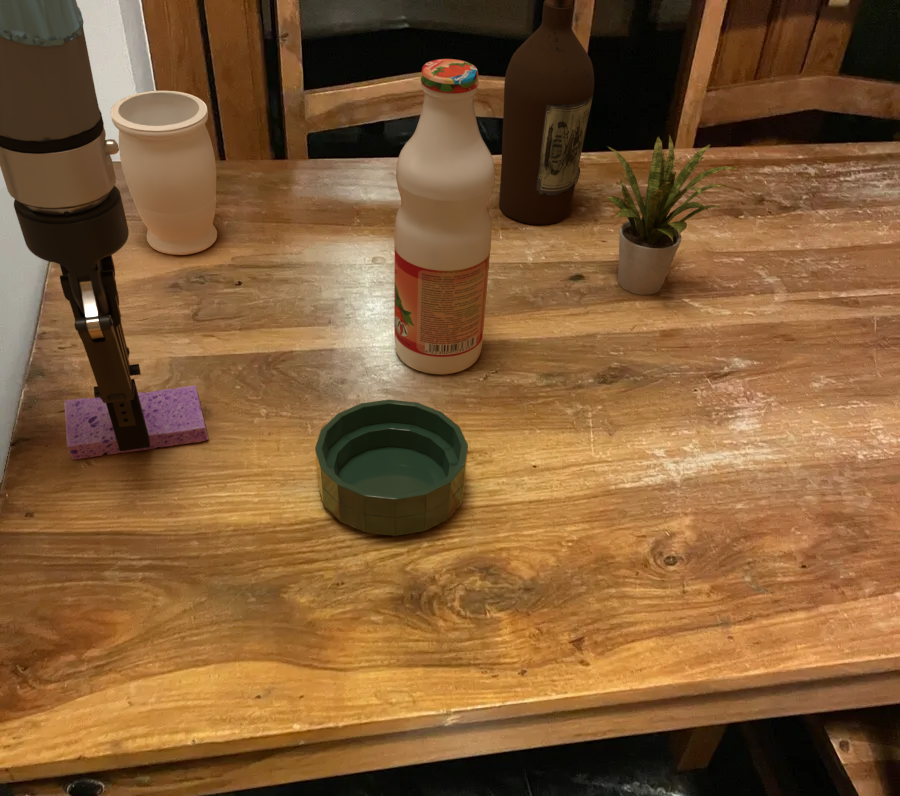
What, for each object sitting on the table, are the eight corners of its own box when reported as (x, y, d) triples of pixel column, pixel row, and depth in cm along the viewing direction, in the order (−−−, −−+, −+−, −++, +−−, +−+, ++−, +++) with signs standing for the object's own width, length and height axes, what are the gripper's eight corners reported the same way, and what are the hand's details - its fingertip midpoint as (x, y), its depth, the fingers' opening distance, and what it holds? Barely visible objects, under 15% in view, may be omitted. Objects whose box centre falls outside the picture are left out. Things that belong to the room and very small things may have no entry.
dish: (336, 551, 80) (333, 509, 76) (307, 453, 88) (303, 411, 85) (481, 526, 83) (486, 484, 79) (441, 433, 91) (443, 391, 87)
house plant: (732, 307, 108) (776, 166, 96) (631, 331, 104) (662, 187, 92) (665, 248, 117) (698, 111, 104) (569, 267, 113) (591, 127, 100)
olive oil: (478, 201, 123) (493, -19, 104) (539, 181, 127) (565, -32, 108) (529, 236, 117) (555, 11, 98) (591, 214, 122) (628, -5, 103)
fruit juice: (456, 387, 96) (474, 100, 75) (377, 359, 99) (373, 74, 77) (496, 342, 102) (523, 63, 81) (420, 316, 104) (427, 39, 83)
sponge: (69, 415, 90) (64, 399, 89) (201, 397, 93) (198, 382, 92) (70, 461, 86) (65, 446, 85) (209, 442, 89) (206, 426, 87)
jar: (134, 222, 115) (105, 93, 104) (218, 213, 117) (199, 85, 106) (143, 266, 108) (114, 133, 97) (233, 255, 111) (214, 124, 100)
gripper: (123, 229, 65) (182, 484, 83) (114, 149, 73) (170, 396, 91) (9, 240, 63) (94, 497, 81) (12, 156, 71) (89, 407, 89)
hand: (134, 444), depth 86 cm, fingers closed
